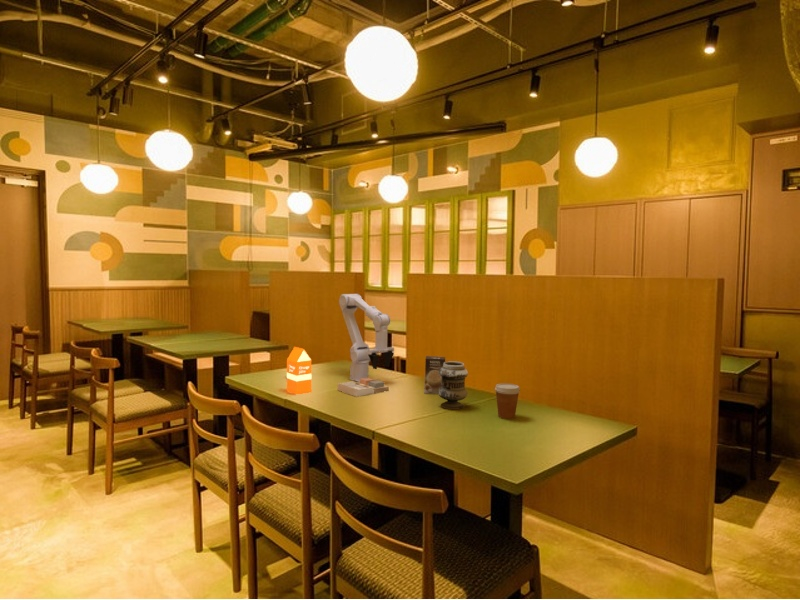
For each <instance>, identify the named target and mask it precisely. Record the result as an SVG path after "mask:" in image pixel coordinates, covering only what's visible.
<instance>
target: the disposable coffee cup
mask: <svg viewBox="0 0 800 600" xmlns="http://www.w3.org/2000/svg"><path fill="white" fill-rule="evenodd" d="M494 390H495V394H496V396H495V398H496V405H497V406H496V407H497V416H498V417H499V418H500V417H501V418H500V419H503V418H506V419H505V420H512V419H511V418H513V419H515V418H516V412H517V408H518V407H517V406H518V402H519V401H518V400H519V394H520V391H521V389H520V386H519V385H517V384H514V383H504V382H503V383H498V384H495V388H494Z"/></svg>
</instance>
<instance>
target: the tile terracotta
mask: <svg viewBox="0 0 800 600" xmlns="http://www.w3.org/2000/svg"><path fill="white" fill-rule="evenodd" d="M370 381H376V379H375V378H372V377H369V378H363V379H360V383H361V384H364V385H369V382H370Z"/></svg>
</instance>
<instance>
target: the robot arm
mask: <svg viewBox="0 0 800 600" xmlns="http://www.w3.org/2000/svg"><path fill="white" fill-rule="evenodd" d="M362 298H363V297H362V296H361V295H360V294H359V293H342V294H340V296H339V299H338V304H339V307H340V310H341V313H342V316H343V320H344V322H345V325H346V328H347V331H348V335H349V337H350V340H351V343H352V346H351V347H350V349H349V353H350V359H351V361H352V362H351V363H350V367H349V368H350V370H349V373H350V374H349V375H350V376H349V378H348V380H352V381H355V382H356V383H358V382H360V379H363V378H370V376H369V374H370V373H369V372H370V371H369V370H370V368H369V365H370V362H371V365H372V366H371V367H372V369H374V370H377V369H378V360H379V359H378V358H379V354H382V353H383V356H384V367H385V368H390V364H391V361H392V358H393V357H394V355H395V347H393V346H388V326H389V325H390V324H391V318H390V315H388V314H387V313H383V312H382V311H380V310H378V309H377V306H375V305H369V304H368V303H367V302H366V301H365V300H364V299H362ZM358 308H359V309H360V310H362V311H363V312H364V314H365V316H366V317H367V318H369V319H370V320H371V322H372V324H373V327H374V330H375V334H374V335H375V336H374V337H375V342H374V345H375V347H374V348H370V347H369V345H368V343H366V342H365V341H364V340H363V337H362V335H361V332H360V329H359V326H358V323H357V320H356V316H355V312H357V310H358Z"/></svg>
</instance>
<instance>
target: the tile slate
mask: <svg viewBox="0 0 800 600" xmlns="http://www.w3.org/2000/svg"><path fill="white" fill-rule="evenodd" d="M384 385H385V381H381V380H378V379H377V380H376V379H375V381H370V382H369V386H371V387H374V388H379V387H384Z"/></svg>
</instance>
